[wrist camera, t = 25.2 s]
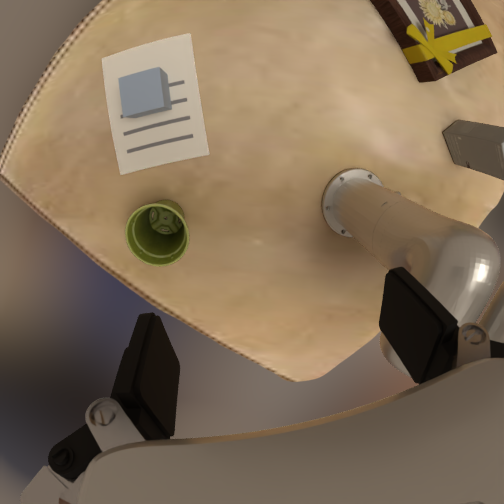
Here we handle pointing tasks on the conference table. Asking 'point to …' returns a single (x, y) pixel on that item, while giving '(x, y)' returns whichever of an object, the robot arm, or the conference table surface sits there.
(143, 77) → the cube
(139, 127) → the letter
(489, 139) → the skincare box
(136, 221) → the plant pot
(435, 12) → the brown gift box
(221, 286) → the conference table surface
